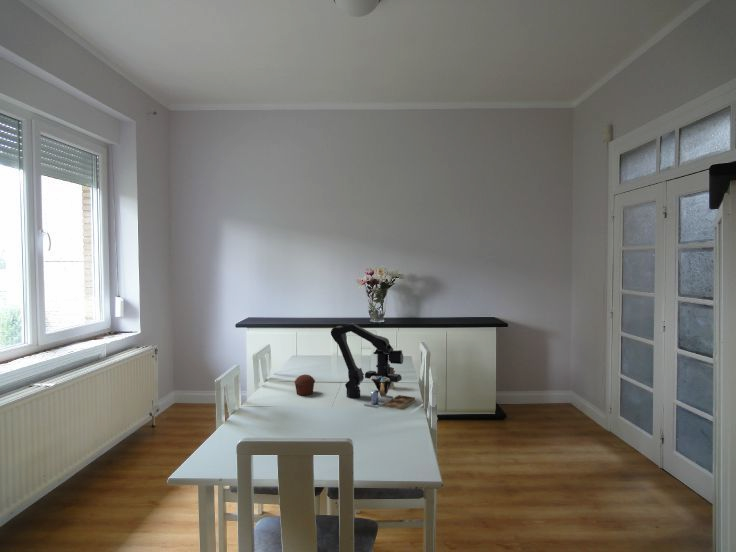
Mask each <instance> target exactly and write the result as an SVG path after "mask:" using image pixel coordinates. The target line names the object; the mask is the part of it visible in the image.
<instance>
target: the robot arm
mask: <svg viewBox="0 0 736 552" xmlns="http://www.w3.org/2000/svg"><path fill="white" fill-rule="evenodd" d="M350 332H352V333H353V334H354V335H357V336H358V337H360V338H362V339H364V340H366V341H368V342H369V343H371V345H373V347H374V348H376V349H375V351H374V352H373V354H374V355H376V356H377V357H376V358H377V359H376V360H377V362H376V363H377V364H376V365H375V368H376V369H377V371H376V370H367V371H366V372H365V373H363V370H362V369H363V368H362V367H360V368H359V367H358V366H357V364H356V362H355V359H354V358H353V355H352V352H351V349H350V347H349V344H348V342H347V334H348V333H350ZM330 335H331V337H332V339H333V340H334V342H335V343H336V344H337V345H338V347H339V349H340V350H339V351H340V353H341V355H342V357H343V360H344V362H345V366H346V367H347V372H348V375H347V376H348V381H347V382H346V383H345V389H346V398H348V399H350V400H351V399H353V400H354V399H360V398H361V389H360V385H361V383H362V382H364V379H371V381H372V382H373V383H374V385H375V386H376V389H377V391H378V393H380V382H381V378H386V379H387V381H385V392H386V394H388V393H389V392H388V391H389V390H390V389H389V387H390V384H391V382H393V383H398V382H400V381H402V375H401V374H399V373H394V374H393V371H394V369H395V368H394V367H392V366H391V365H390V364H392V365H393V364H398V365H403V364H404V353H403V350H401V349H400V350H399V349H398V350H395V349H394V348H393V346H392V345H391V344H390V341H389V339H388V338H387V337H384V336H382V335H377V334H374V333H372V332H371V331H369V330H367V329H366V328H364V327H361V326H360V325H358V324H356V323H355V322H352V323H350V324H349V323H348V324H346V325H343V326H342V325H338V326H335V327H333V328H332V329H331V330H330ZM389 374H393V375H389ZM384 376H386V377H384Z"/></svg>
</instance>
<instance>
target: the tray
mask: <svg viewBox="0 0 736 552" xmlns="http://www.w3.org/2000/svg"><path fill="white" fill-rule="evenodd" d="M415 401H416V397H414V396H408V395H402V394H398V395H396V396H395V397H393V399H391V400H389V401H388V402H386V403H384V408H391V409H396V410H403V409H404V408H406V407H407V406H409V405H411V404H413V402H415Z"/></svg>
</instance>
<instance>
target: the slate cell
mask: <svg viewBox="0 0 736 552" xmlns="http://www.w3.org/2000/svg"><path fill="white" fill-rule="evenodd" d="M370 396H371V398H370V400H371V401H370V402H371V405H378V398H379V391H378V390H376V389H374V390H373V389H372V390H371V391H370Z"/></svg>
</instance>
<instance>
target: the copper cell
mask: <svg viewBox="0 0 736 552" xmlns="http://www.w3.org/2000/svg"><path fill="white" fill-rule="evenodd" d="M387 394H388V393H387ZM387 394H386V392H385V381H380V392H379V397H381V396H386V395H387ZM387 396H388V395H387Z"/></svg>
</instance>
